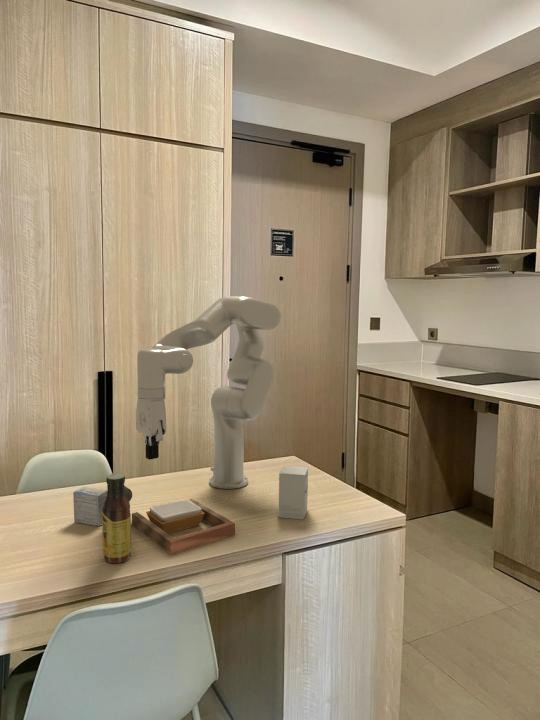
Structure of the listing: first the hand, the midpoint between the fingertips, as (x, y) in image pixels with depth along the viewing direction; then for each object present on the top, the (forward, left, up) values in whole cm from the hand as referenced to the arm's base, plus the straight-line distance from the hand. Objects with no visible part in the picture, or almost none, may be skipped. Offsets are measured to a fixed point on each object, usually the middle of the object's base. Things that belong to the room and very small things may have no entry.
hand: (152, 458), depth 155 cm
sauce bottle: (+22, -20, -15) cm, 33 cm away
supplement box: (+26, +30, -15) cm, 43 cm away
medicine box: (-2, -17, -15) cm, 23 cm away
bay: (+15, -2, -15) cm, 22 cm away
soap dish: (+13, 0, -15) cm, 20 cm away
